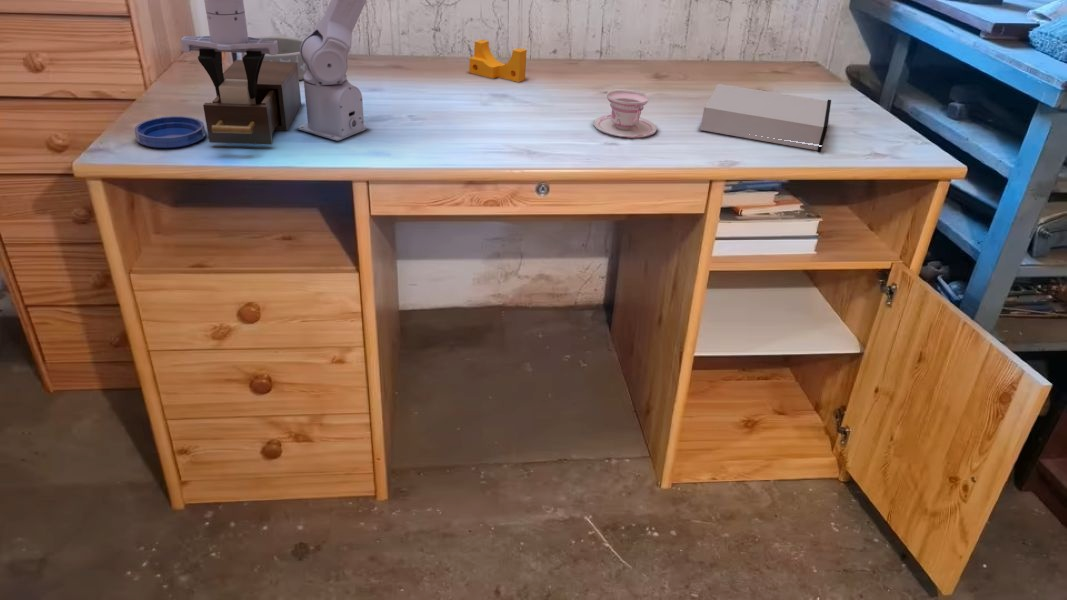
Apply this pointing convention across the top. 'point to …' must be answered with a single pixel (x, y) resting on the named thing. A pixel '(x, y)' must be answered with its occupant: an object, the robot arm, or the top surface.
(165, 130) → the blue saucer
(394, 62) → the top surface
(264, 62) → the cabinet
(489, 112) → the top surface
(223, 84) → the block
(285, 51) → the dog bowl
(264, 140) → the drawer
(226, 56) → the milkshake
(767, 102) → the disc drive
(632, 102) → the teacup
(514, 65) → the pipe clamp
